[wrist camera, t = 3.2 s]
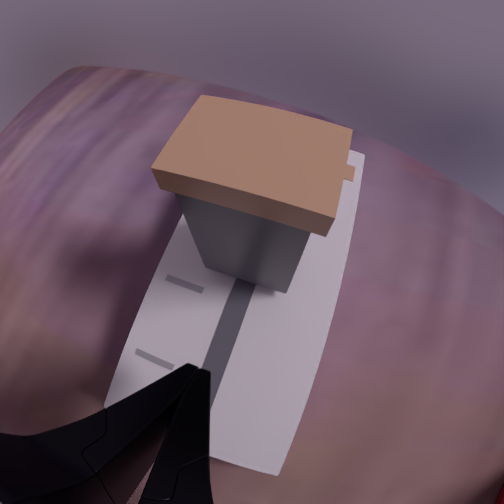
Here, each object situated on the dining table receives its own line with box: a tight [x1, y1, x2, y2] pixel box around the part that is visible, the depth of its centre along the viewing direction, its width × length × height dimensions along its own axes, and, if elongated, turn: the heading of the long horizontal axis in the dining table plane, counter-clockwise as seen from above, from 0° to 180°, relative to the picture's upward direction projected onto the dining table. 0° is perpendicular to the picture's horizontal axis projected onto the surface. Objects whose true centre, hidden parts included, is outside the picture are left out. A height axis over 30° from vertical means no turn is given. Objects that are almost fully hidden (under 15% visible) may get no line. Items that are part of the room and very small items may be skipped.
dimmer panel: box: [104, 150, 365, 476], centre depth 16 cm, size 19×9×3 cm, turn 161°
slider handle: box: [151, 95, 353, 294], centre depth 11 cm, size 3×5×8 cm
